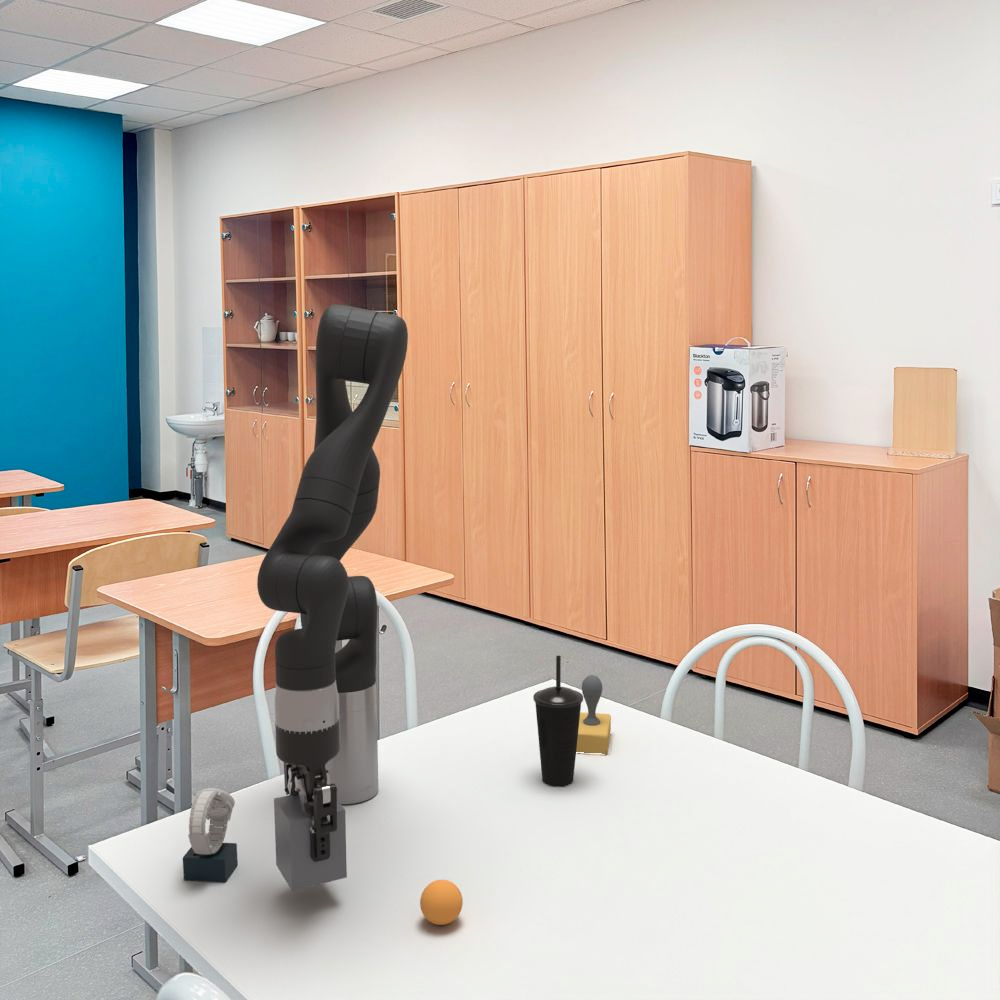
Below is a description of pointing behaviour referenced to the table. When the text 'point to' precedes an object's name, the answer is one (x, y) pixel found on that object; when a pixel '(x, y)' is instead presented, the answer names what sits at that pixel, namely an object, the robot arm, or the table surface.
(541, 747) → the drinking cup
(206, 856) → the watch
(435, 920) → the ball
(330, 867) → the grey block
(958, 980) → the table surface
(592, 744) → the rubber stamp
